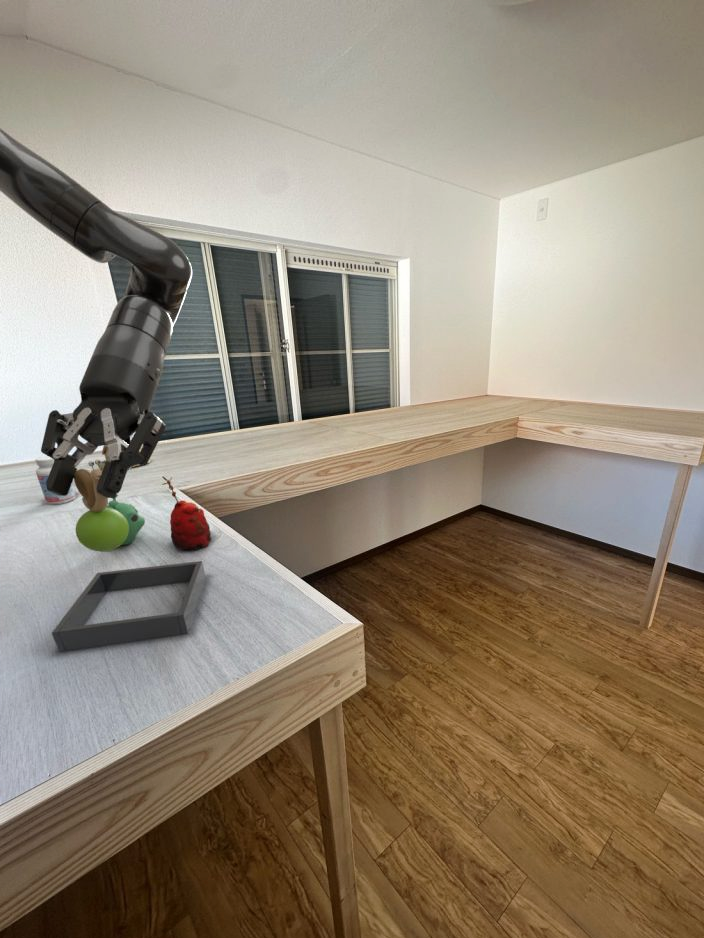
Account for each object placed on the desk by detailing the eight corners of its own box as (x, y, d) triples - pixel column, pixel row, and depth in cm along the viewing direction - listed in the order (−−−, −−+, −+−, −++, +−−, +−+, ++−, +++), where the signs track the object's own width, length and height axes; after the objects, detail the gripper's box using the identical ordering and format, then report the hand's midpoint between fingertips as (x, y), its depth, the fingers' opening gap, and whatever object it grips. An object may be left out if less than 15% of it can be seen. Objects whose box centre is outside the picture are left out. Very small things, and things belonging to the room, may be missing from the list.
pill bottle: (40, 503, 103) (24, 460, 98) (65, 495, 108) (50, 453, 103) (58, 506, 101) (42, 462, 96) (82, 497, 106) (68, 455, 102)
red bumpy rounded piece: (218, 544, 82) (204, 472, 76) (182, 557, 78) (164, 481, 71) (202, 532, 87) (188, 464, 81) (167, 544, 83) (150, 472, 76)
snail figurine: (102, 566, 48) (67, 467, 43) (75, 552, 51) (39, 459, 46) (147, 546, 52) (120, 454, 48) (119, 535, 56) (91, 447, 51)
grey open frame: (61, 657, 54) (51, 632, 52) (104, 593, 67) (97, 572, 65) (189, 638, 57) (183, 614, 55) (206, 581, 70) (202, 560, 68)
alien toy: (150, 545, 82) (137, 498, 78) (104, 554, 79) (89, 506, 75) (148, 531, 88) (137, 487, 84) (106, 540, 84) (91, 494, 80)
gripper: (50, 351, 50) (-8, 477, 44) (160, 351, 49) (116, 482, 43) (95, 391, 57) (51, 504, 51) (193, 392, 56) (159, 509, 50)
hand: (80, 493), depth 47 cm, fingers closed on snail figurine, 5 cm apart
